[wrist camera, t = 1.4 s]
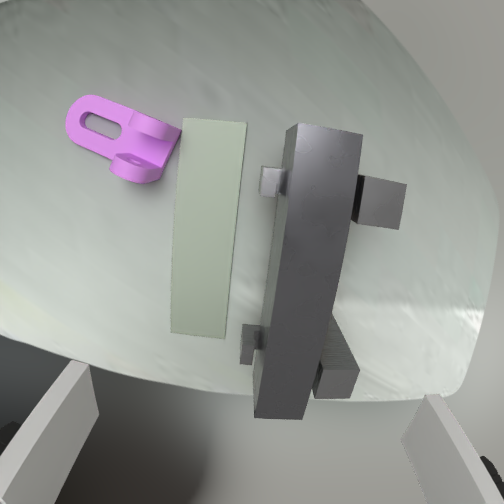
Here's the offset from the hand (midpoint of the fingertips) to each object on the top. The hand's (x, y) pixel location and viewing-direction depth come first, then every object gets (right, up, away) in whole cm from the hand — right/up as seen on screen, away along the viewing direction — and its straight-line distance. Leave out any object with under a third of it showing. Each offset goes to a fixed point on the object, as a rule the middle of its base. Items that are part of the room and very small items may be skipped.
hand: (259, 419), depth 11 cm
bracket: (-14, +19, +20) cm, 31 cm away
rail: (+3, +5, +16) cm, 17 cm away
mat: (-5, +8, +23) cm, 25 cm away
